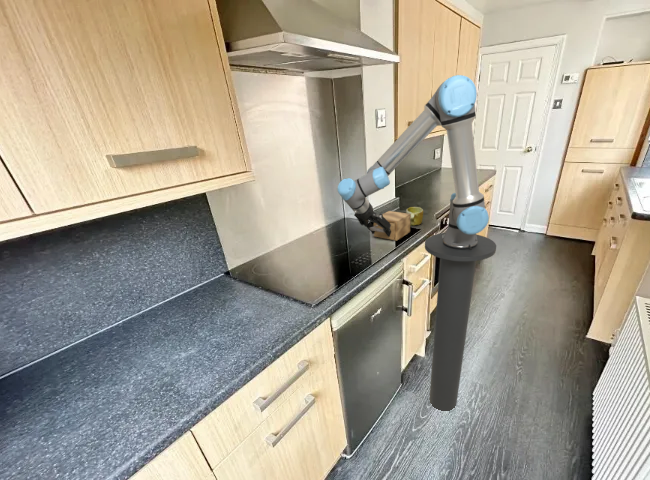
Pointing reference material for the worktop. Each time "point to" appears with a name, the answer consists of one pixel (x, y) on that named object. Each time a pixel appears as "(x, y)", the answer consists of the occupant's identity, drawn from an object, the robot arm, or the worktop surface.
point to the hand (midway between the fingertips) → (381, 232)
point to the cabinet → (398, 223)
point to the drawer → (380, 232)
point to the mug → (415, 215)
